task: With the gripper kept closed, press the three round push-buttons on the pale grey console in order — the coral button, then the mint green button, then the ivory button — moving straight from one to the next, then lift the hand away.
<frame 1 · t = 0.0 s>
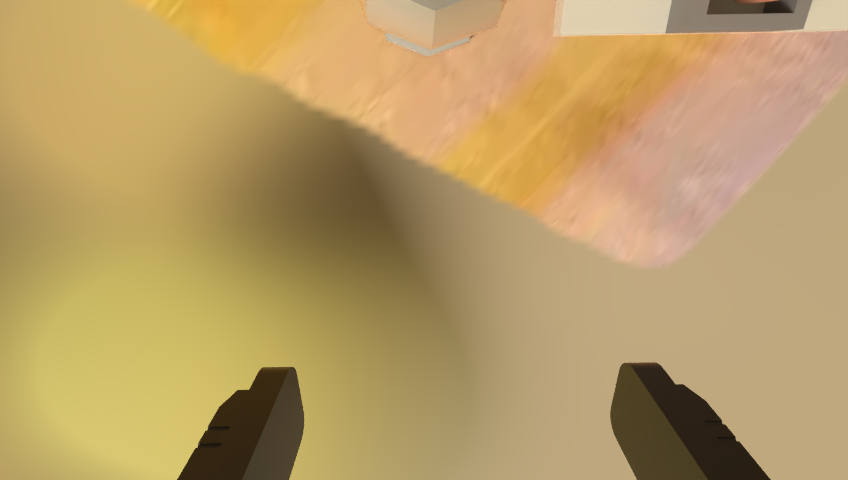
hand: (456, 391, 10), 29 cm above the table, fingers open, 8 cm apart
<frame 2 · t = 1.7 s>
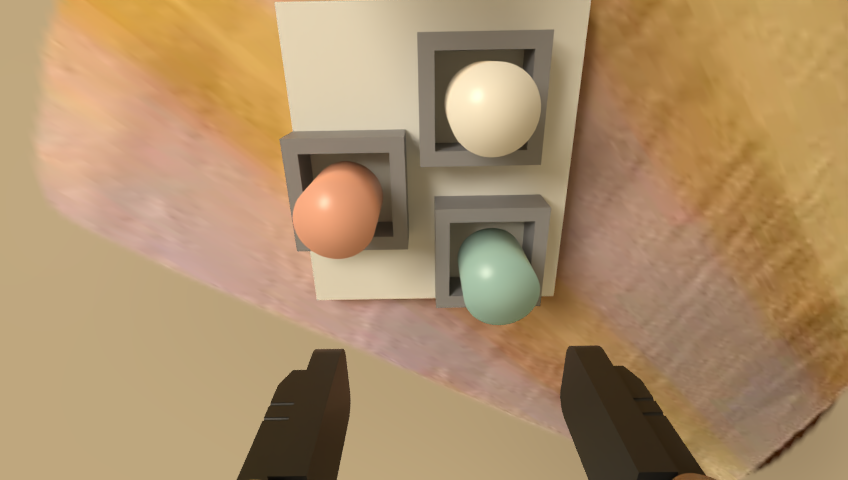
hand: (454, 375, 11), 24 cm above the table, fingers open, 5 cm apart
coral button: (341, 207, 26), point 7 cm above the table, slide at 0.0 cm
ivory button: (487, 106, 24), point 7 cm above the table, slide at 0.0 cm
console: (433, 163, 32), on the table
mint green button: (495, 274, 28), point 7 cm above the table, slide at 0.0 cm
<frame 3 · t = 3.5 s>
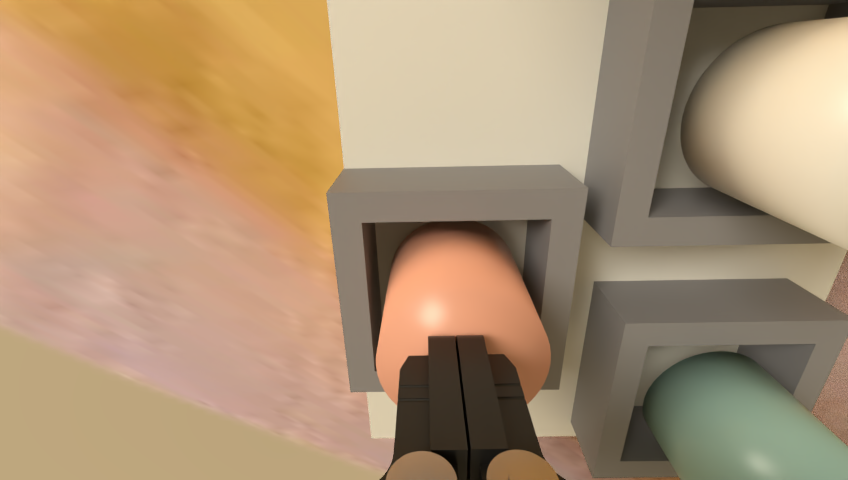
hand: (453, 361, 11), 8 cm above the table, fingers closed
coral button: (456, 312, 14), point 6 cm above the table, slide at 1.5 cm, touching gripper
ivory button: (844, 128, 10), point 7 cm above the table, slide at 0.0 cm
console: (583, 219, 18), on the table
mint green button: (748, 454, 14), point 7 cm above the table, slide at 0.0 cm
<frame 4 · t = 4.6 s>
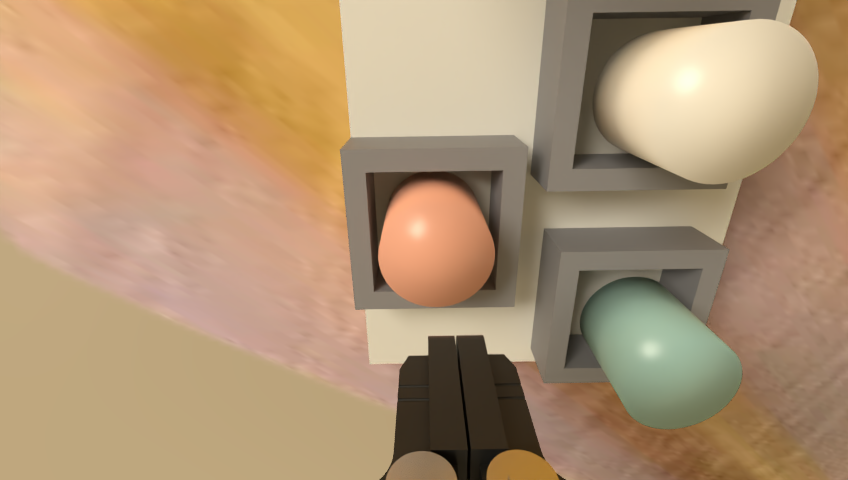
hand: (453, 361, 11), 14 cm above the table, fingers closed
coral button: (434, 233, 19), point 5 cm above the table, slide at 2.2 cm
ivory button: (686, 100, 15), point 7 cm above the table, slide at 0.0 cm
console: (537, 182, 23), on the table
mint green button: (650, 347, 19), point 7 cm above the table, slide at 0.0 cm
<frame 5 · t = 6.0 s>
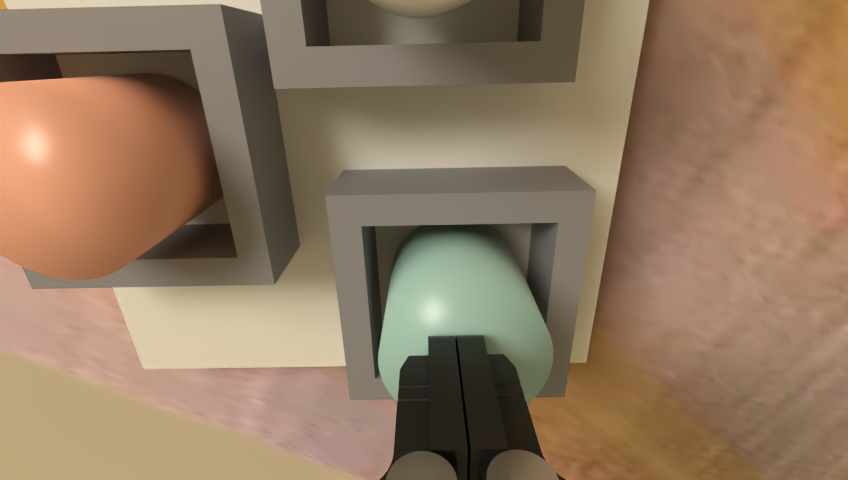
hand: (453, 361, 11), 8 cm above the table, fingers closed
coral button: (116, 165, 12), point 5 cm above the table, slide at 2.2 cm
console: (347, 106, 16), on the table
mint green button: (458, 311, 14), point 5 cm above the table, slide at 1.9 cm, touching gripper
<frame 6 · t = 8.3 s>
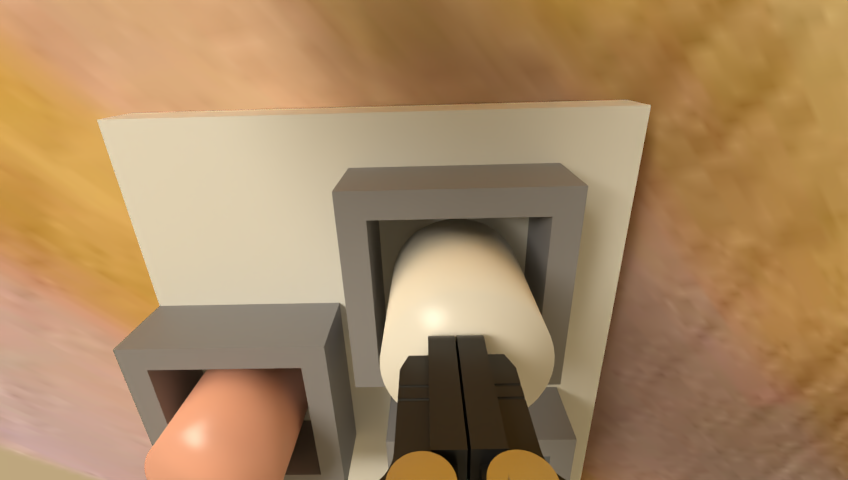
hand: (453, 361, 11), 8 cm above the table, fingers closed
coral button: (241, 423, 17), point 5 cm above the table, slide at 2.2 cm
ivory button: (460, 313, 14), point 6 cm above the table, slide at 1.2 cm, touching gripper
console: (392, 330, 21), on the table
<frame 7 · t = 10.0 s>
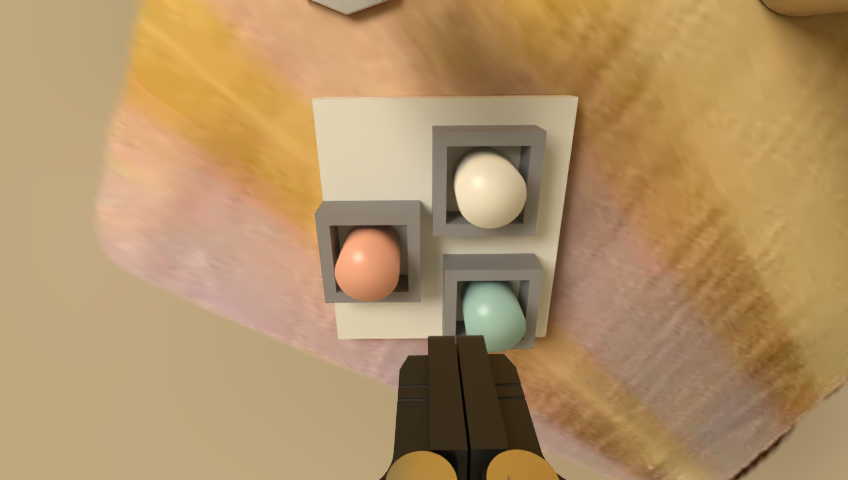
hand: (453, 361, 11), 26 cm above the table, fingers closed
coral button: (370, 259, 33), point 5 cm above the table, slide at 2.2 cm
ivory button: (486, 186, 31), point 5 cm above the table, slide at 2.3 cm
console: (442, 224, 37), on the table
mint green button: (491, 310, 35), point 5 cm above the table, slide at 2.2 cm
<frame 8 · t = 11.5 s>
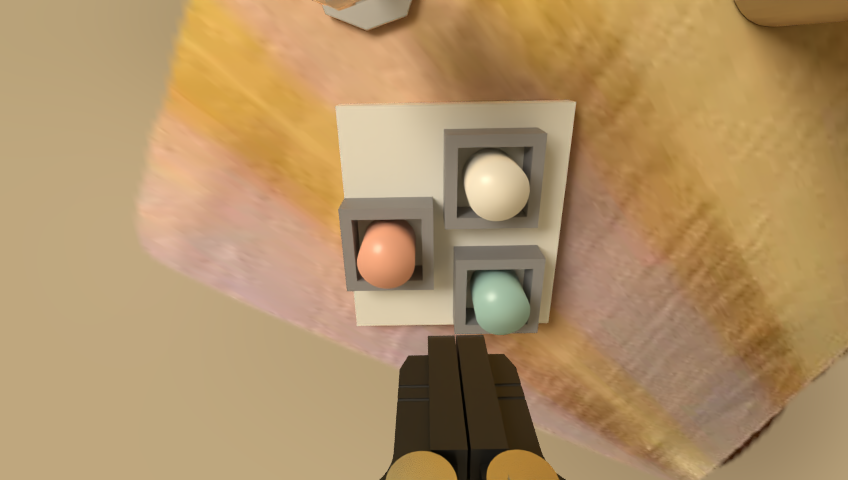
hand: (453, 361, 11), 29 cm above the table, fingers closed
coral button: (388, 250, 37), point 5 cm above the table, slide at 2.2 cm
ivory button: (493, 183, 34), point 5 cm above the table, slide at 2.3 cm
console: (452, 219, 41), on the table
mint green button: (498, 297, 39), point 5 cm above the table, slide at 2.2 cm
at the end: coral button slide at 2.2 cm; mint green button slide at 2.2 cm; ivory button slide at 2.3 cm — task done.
